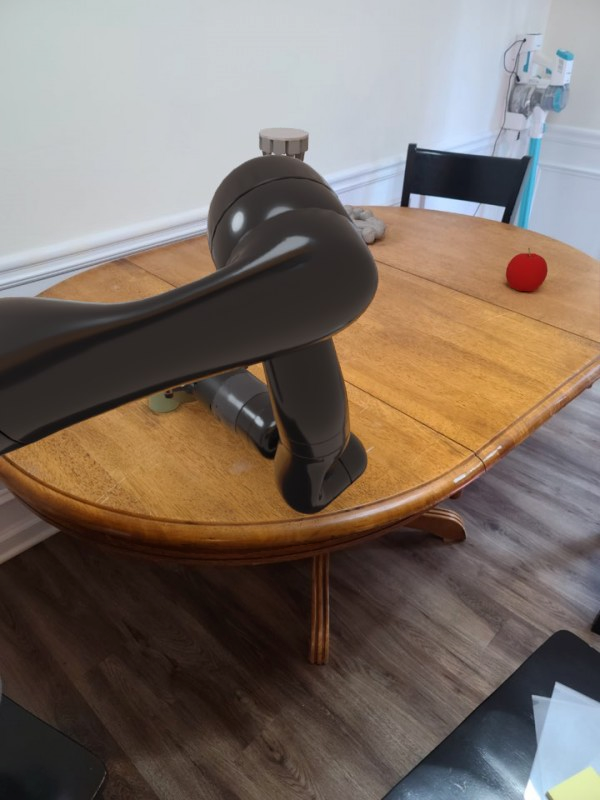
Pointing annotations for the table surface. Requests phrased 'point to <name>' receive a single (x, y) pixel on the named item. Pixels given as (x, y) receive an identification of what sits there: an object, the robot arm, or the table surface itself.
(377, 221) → the campfire
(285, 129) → the grey lattice tower
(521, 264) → the fruit
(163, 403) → the front jar
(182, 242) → the table surface
